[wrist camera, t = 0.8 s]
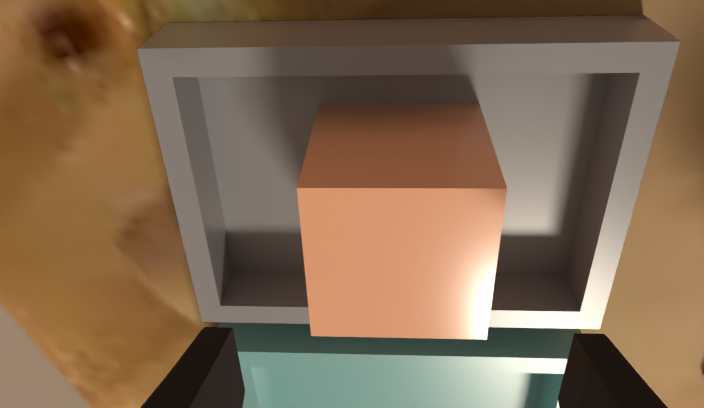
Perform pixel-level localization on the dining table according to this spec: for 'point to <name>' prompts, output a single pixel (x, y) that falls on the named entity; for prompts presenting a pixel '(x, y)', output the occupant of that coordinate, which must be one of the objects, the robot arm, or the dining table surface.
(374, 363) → the teal bin
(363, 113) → the terracotta block
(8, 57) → the dining table surface
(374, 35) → the grey bin
